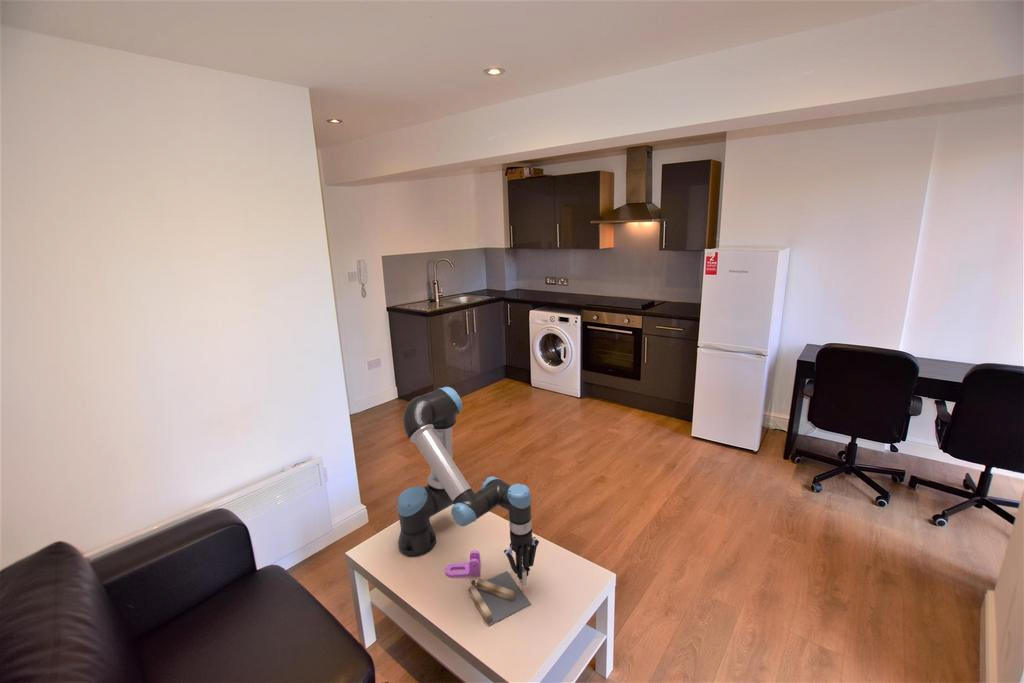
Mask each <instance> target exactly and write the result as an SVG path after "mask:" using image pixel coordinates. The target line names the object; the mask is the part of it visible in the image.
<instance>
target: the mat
mask: <svg viewBox="0 0 1024 683" xmlns="http://www.w3.org/2000/svg"><path fill="white" fill-rule="evenodd" d="M485 581H487V582H490V583H493V584H496V585H499V586H501V587H504V588H507V589H510V590H512V591H515V598H514V600H513V601H510V600H507V599H504V598H502V597H499V596H496V595H494V594H491V593H488V592H486V591H483V590H480V589H478V588H477V584H476V589H477V590H478V592H479V594H480V595H481V597H482V599H483V600H484V602H485V604H486V605H487V607H488V608H489V610H490V612H491V613H492V621H490V622H488V623H487V622H486V623H487V625H488V627H491V626H494V625H495V624H497V623H498V622H501V621H502V620H505V619H506V618H508V617H510V616H512V615H514V614H516V613H518V612H521V611H522V610H525V609H526V608H528V607H530V606H532V603H531V601H530V600H529V599H528V597H527V596H526V594H525V593H524V592H523V591H522V588H520V587H519V586H520V585H518V584H517V582H516V581H515V579H514V578H513V576H512V575H511V574H510V572H509V571H508V570H506V571H504V572H502V573H499V574H497V575H495V576H493V577H490V578H488V579H487V580H485ZM467 591H468V592H469V588H468V589H467Z"/></svg>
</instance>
